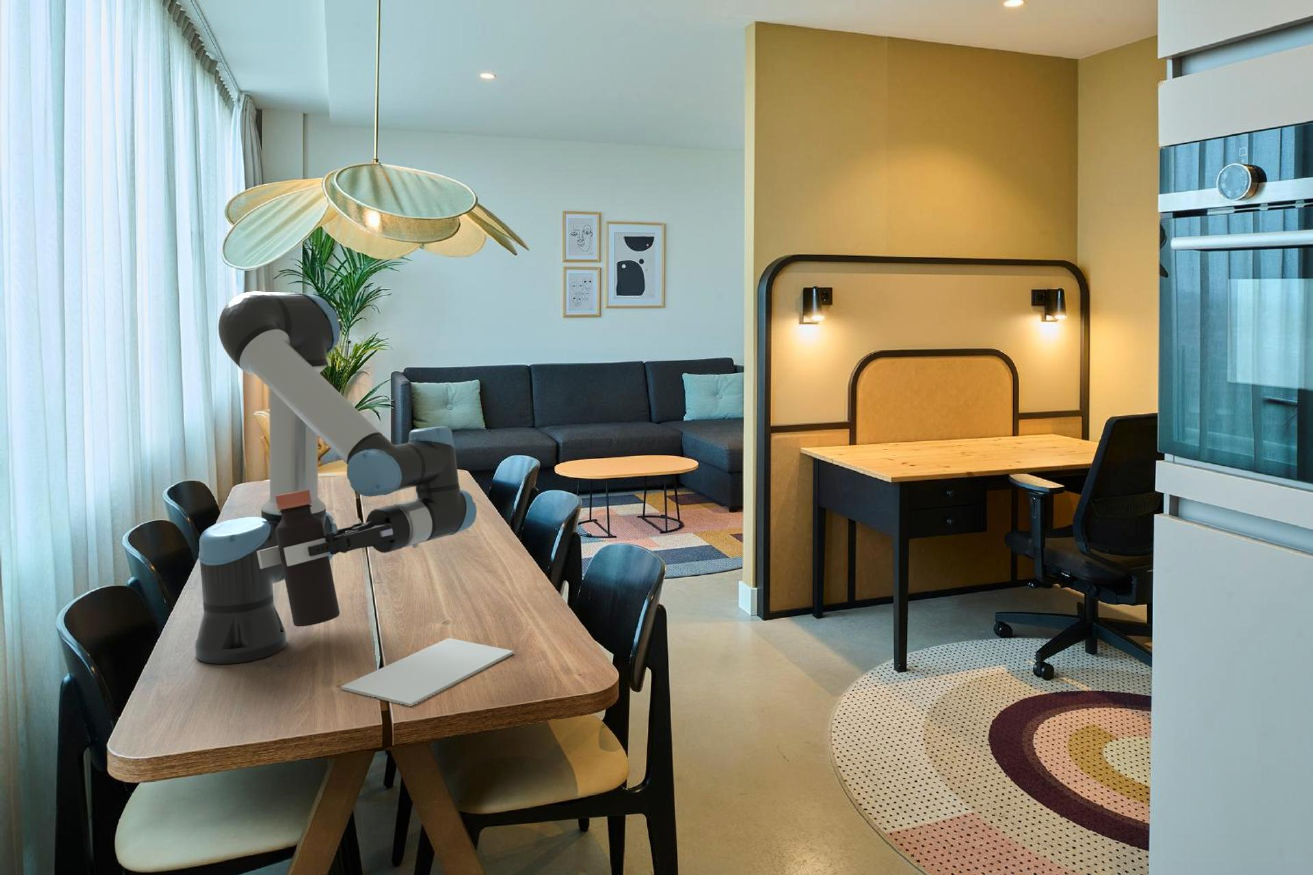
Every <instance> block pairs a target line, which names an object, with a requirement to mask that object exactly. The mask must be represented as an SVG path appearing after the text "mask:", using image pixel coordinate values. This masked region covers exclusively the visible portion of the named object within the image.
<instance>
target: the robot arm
mask: <svg viewBox="0 0 1313 875" xmlns="http://www.w3.org/2000/svg"><path fill="white" fill-rule="evenodd" d="M217 325H218V326H217V327H218V328H217V329H218V337H219V339H220V343H221V346H222V347H223V349H224V350H225V352H226V354H227V355H228V357H229V358H230V359H231V360H232V361H233V362H234V364H235V365H237V366H238V367H239V369H241V371H243V373H245V374H247V375H251V376H252V375H253V376H254V375H255V376H256V377H257V378H258V379H260V380H261V381H262V382H263V383H264V384H265V385H266V387H268V389H269V392H268V393H269V394H268V395H269V499H268V500H267V501H266V502H265V503H264V504H263V505H262V506H261V508H260V510H261V512H260V513H261V514H260V516H261V517H260V516H243V517H242V516H241V517H239V518H235V519H228V520H223V521H221V522H218V523H215V524H213V525H211V526H209V527H208V528H206V529H205V530H204V531H203V532H202V533H201V535H200V538H199V552H198V560H199V565H200V566H199V568H200V577H201V590H202V591H201V593H202V604H203V605H202V606H203V615H202V618H201V621H200V625H199V630H198V635H197V638H196V640H195V643H194V645H195V646H194V648H195V649H194V650H195V657H196V659H197V660H198V661H201V662H204V663H208V664H214V665H215V664H216V665H217V664H218V665H227V664H239V663H245V662H246V663H247V662H251V661H256V660H260V659H263V658H266V657H270V656H273V655H274V654H277V653H279V652H281V651H282V650H283V649H284V648H285V647H286V646H287V632H286V629H285V627H284V625H283V622H282V619H281V618H280V615H279V613H278V611H277V608H276V605H275V603H274V588H273V587H274V585H273V584H276V583H279V582H281V581H285V577H284V572H283V567H282V562H281V557H280V552H279V547H278V542H277V537H276V531H275V530H276V528H277V526H278V524H279V523H280V521H281V520H282V515H281V513H279V511H280V510H278V507H277V506H278V505H277V502H276V497H275V496H277V495H282V494H287V493H292V492H298V491H303V490H309V491H310V496H311V501H312V503H311V504H310V505H312V507H310V508H311V513H312V514H313V515H315V516H316V517H318V518H319V519H320V520H321V521H322V524H323V529H324V534H325V538H322V539H318V540H315V541H310V542H306V543H302V544H298V545H294V546H290V547H286V548H284V553H285V558H286V563H287V566H291V565H295V564H299V563H303V562H306V561H310V560H314V559H318V558H321V557H325V556H328V555H329V560H330V561H331V559H332V558H333V557H334V555H337V554H338V553H341V554H345V553H348V552H350V551H354V550H359V549H363V548H371V547H372V548H373V549H374V550H376V552H379V553H382V554H383V553H384V554H386V553H391V552H393V551H397V550H401V549H403V548H407V547H411V546H412V548H413V549H417V548H418V547H419V544H421V543H425V542H429V541H433V540H436V539H439V538H443V537H444V538H445V537H448V536H453V535H455V534H458V533H460V532H462V531H463V532H464V531H466V530H468V529H469V528H470V527H472V526H473V525H474V523H475V521H476V518H477V513H478V512H477V505H476V504H477V503H475V502H474V499H473V496H472V495H471V494H470V493H469V492H468V491H466V490H464V489H461V486H460V483H459V482H460V481H459V474H458V464H457V455H456V446H455V444H454V437H453V432H452V430H451V428H450V427H448V426H444V425H442V426H439V425H438V426H429V427H423V428H417V429H416V428H415V429H412V430H410V432H409V433H408V442H405V443H399V444H393V442H392V441H390V440H389V439H388V438H387V437H386V436H384V434H383V433H382V432H380V431H379V429H378V428H376V427H375V426H374V424H372V423H371V422H370V421H369V420H368V419H367V418H366V417H365V416H364V415H363V414H362V413H361V412H360V411H359V410H358V409H356V408H355V406H354V405H352V403H350V401H349V400H347V398H346V397H344V395H343V394H341V393H340V392H339V391H338V390H337V389H336V388H335V387H334V386H333V385H332V384H331V383H330V382H329V381H328V380H327V379H326V378H325V377H324V376H322V374H321V372H323V370H324V369H326V368H327V365H328V364H327V360H328V358H327V357H328V356H327V355H328V354H330V353H331V352H332V351H334V349H335V348H336V346H337V345H338V343H339V340H340V336H341V325H340V322H339V318H338V316H337V313H336V311H335V310H334V308H333V307H331V305H329V303H328V301H326V300H325V299H324V298H322V297H320V296H318V295H315V294H310V293H303V292H269V291H267V292H263V291H249V292H244V293H242V294H239V295H238V296H236V297H233V298H232V299H231V300H230V301H229V302H228V303H226V305H225V306H224V307H223V309H222V311H221V313H220V316H219V319H218V324H217ZM319 438H320V440H321V441H323V442H324V443H325V445H326V446H328V448H330V449H331V450H332V451H333V452H334V454H336V455H337V456H338V457H339V458H340V459H341V460H342V461H343V463H345V464H346V465H347V466H346V477H347V480H349V483H350V484H349V485H350V487H351V489H353V491H354V492H355V493H357V494H358V495H361V496H362V497H367V498H368V497H369V498H370V497H378V496H379V497H380V496H388V495H390V494H392V493H396V492H398V491H402V490H405V489H410V488H413V487H414V488H415V492H416V497H417V499H411V500H407V501H406V500H405V501H402V502H398V503H394V504H392V505H385V506H381V507H377V508H374V509H372V510H371V511H370V512H369V513H368V515H367V517H366V519H365V522H359V523H354V524H352V525H351V526H347V527H342V528H339V529H338V526H337V524H336V523H334V517H333V516H332V515H331V514H330V513H329V512H327V506H326V504H325V502H323V501H322V500H321V499H320V498H319V496H318V494H319V493H318V492H319V490H318V489H319V487H318V486H319V485H318V484H319V480H318V479H319V478H318V476H319V471H318V470H319V469H318V468H319V465H318V464H319V454H318V453H319ZM325 539H326V540H325Z"/></svg>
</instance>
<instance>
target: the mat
mask: <svg viewBox="0 0 1313 875" xmlns="http://www.w3.org/2000/svg"><path fill="white" fill-rule="evenodd" d="M513 654H514V650H511V649H507V648H506V649H505V648H501V647H496V646H491V645H486V644H480V643H475V642H470V641H466V640H460V639H456V638H451V637H447V638H445V639H444V640H441V641H439V642H436V643H434V644H432V645H430V646H428V647H426V648H425V647H424V648H423V649H421V650H419V651H417V652H415V653H411V654H409V655H408V656H406V657H403V658H401V659H399V660H397V661H394V662H392V663H390V664H387V665H386V666H383V667H381V668H378V669H377V670H374V671H372V672H370V673H367V674H365V675H363V676H361V677H358V678H357V679H354V680H352V681H351V682H347V683H345V684H343V685H341V686H340V690H343V691H347V692H350V693H355V694H358V695H363V696H366V695H367V697H370V696H371V697H370V698H374V697H378V698H379V700H382V701H386V702H390V703H394V704H399V703H400V704H399V705H402V704H405V705H404V706H406V705H408V706H407V707H410V706H412V707H414V706H416V705H417V704H419V703H421V702H423V701H425V700H427V699H429V698H430V697H433V696H435V695H436V693H437V694H438V693H441V692H443V691H444V690H447V689H448V688H450V687H452V686H454V685H456V684H459V682H462V681H464V680H465V679H467V678H469V677H471V676H473V675H475V674H477V673H479V672H481V671H483V670H485V669H486V668H488V667H490V666H492V665H495V664H496V663H498V662H500V661H502V660H504V659H506V658H508V657H510V656H512V655H513ZM440 691H441V692H440ZM432 695H433V696H432ZM428 697H429V698H428ZM378 698H377V699H378ZM424 699H425V700H424ZM422 700H423V701H422ZM420 701H421V702H420ZM418 702H419V703H418ZM415 704H416V705H415ZM413 705H414V706H413Z"/></svg>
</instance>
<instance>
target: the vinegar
mask: <svg viewBox="0 0 1313 875" xmlns="http://www.w3.org/2000/svg"><path fill="white" fill-rule="evenodd" d="M275 497H276V502H277V505H278V506H277V507H278V510H280V511H279V513H281V515H282V520H281V521H280V523H279V524H278V526H277V528H276V530H275V531H276V537H277V542H278V547H279V552H280V557H281V562H282V567H283V572H284V577H285V580H284V582H285V587H286V592H287V597H288V604H289V608H290V612H291V618H292V622H293V625H294V627H298V628H299V627H308V626H314V625H318V624H322V623H326V622H329V621H332V620H334V619H336V618H338V617H339V616H340V613H341V612H340V608H339V602H338V597H337V592H336V586H335V581H334V575H333V571H332V566H331V560H329V555H328V556H325V557H321V558H318V559H314V560H310V561H306V562H303V563H299V564H295V565H291V566H287V563H286V558H285V553H284V548H286V547H290V546H294V545H298V544H302V543H306V542H310V541H315V540H318V539H322V538H325V534H324V529H323V524H322V521H321V520H320V519H319V518H318V517H316V516H315V515H313V514H312V513H311V508H310V507H312V505H310V504H311V503H312V501H311V496H310V491H309V490H303V491H298V492H292V493H287V494H282V495H277V496H275ZM325 540H326V539H325Z"/></svg>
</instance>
